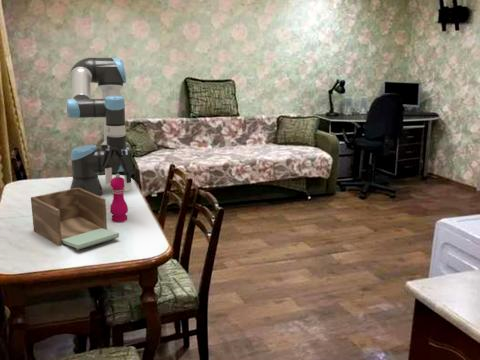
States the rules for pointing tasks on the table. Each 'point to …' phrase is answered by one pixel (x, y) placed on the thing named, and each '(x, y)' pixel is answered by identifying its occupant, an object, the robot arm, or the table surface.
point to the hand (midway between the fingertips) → (118, 186)
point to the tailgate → (90, 238)
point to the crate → (68, 214)
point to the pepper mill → (118, 200)
